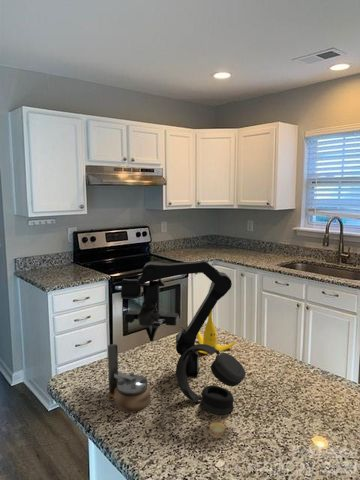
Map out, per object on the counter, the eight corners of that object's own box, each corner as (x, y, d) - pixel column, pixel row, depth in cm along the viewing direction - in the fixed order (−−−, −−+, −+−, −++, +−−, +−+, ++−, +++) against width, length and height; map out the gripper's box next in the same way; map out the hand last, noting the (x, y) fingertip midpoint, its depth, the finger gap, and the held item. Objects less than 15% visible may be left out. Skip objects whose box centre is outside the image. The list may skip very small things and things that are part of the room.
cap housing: (154, 394, 117) (154, 382, 116) (144, 413, 106) (144, 400, 105) (111, 389, 120) (111, 377, 119) (97, 408, 109) (97, 395, 108)
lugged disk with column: (153, 396, 113) (152, 349, 112) (134, 409, 106) (133, 360, 104) (120, 383, 121) (119, 340, 120) (100, 395, 114) (98, 349, 112)
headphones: (252, 362, 107) (195, 330, 115) (242, 374, 99) (182, 339, 108) (234, 412, 111) (180, 377, 120) (223, 426, 104) (167, 389, 113)
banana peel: (236, 349, 151) (237, 310, 149) (196, 358, 143) (196, 317, 141) (216, 336, 166) (217, 300, 164) (178, 343, 158) (178, 306, 156)
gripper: (117, 303, 122) (118, 347, 123) (171, 306, 118) (172, 352, 120) (129, 294, 133) (129, 336, 134) (179, 297, 129) (179, 339, 130)
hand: (151, 341), depth 129 cm, fingers closed
